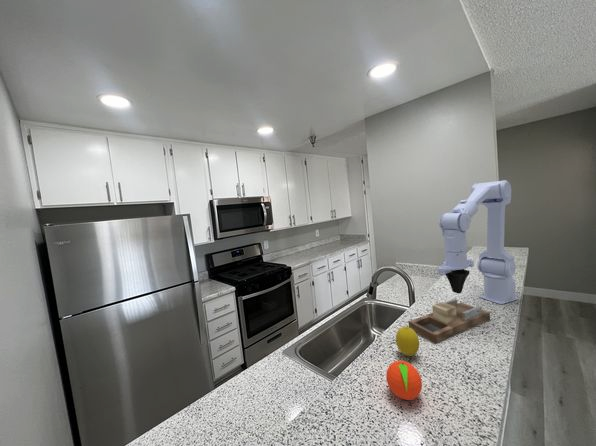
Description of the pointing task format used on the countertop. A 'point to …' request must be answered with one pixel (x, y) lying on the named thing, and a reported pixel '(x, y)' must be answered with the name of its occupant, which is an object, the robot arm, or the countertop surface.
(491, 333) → the countertop surface
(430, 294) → the countertop surface
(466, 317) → the channel walls
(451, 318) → the maple block
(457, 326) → the board
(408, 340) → the lemon
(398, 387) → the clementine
